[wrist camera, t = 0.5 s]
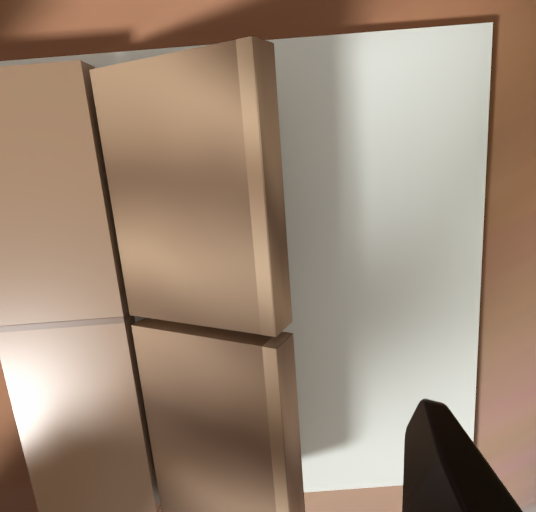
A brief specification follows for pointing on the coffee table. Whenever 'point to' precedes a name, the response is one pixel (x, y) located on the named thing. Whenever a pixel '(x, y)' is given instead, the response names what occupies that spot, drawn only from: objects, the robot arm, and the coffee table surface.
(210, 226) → the plank
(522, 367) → the coffee table surface
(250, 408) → the plank
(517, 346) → the coffee table surface
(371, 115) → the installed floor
